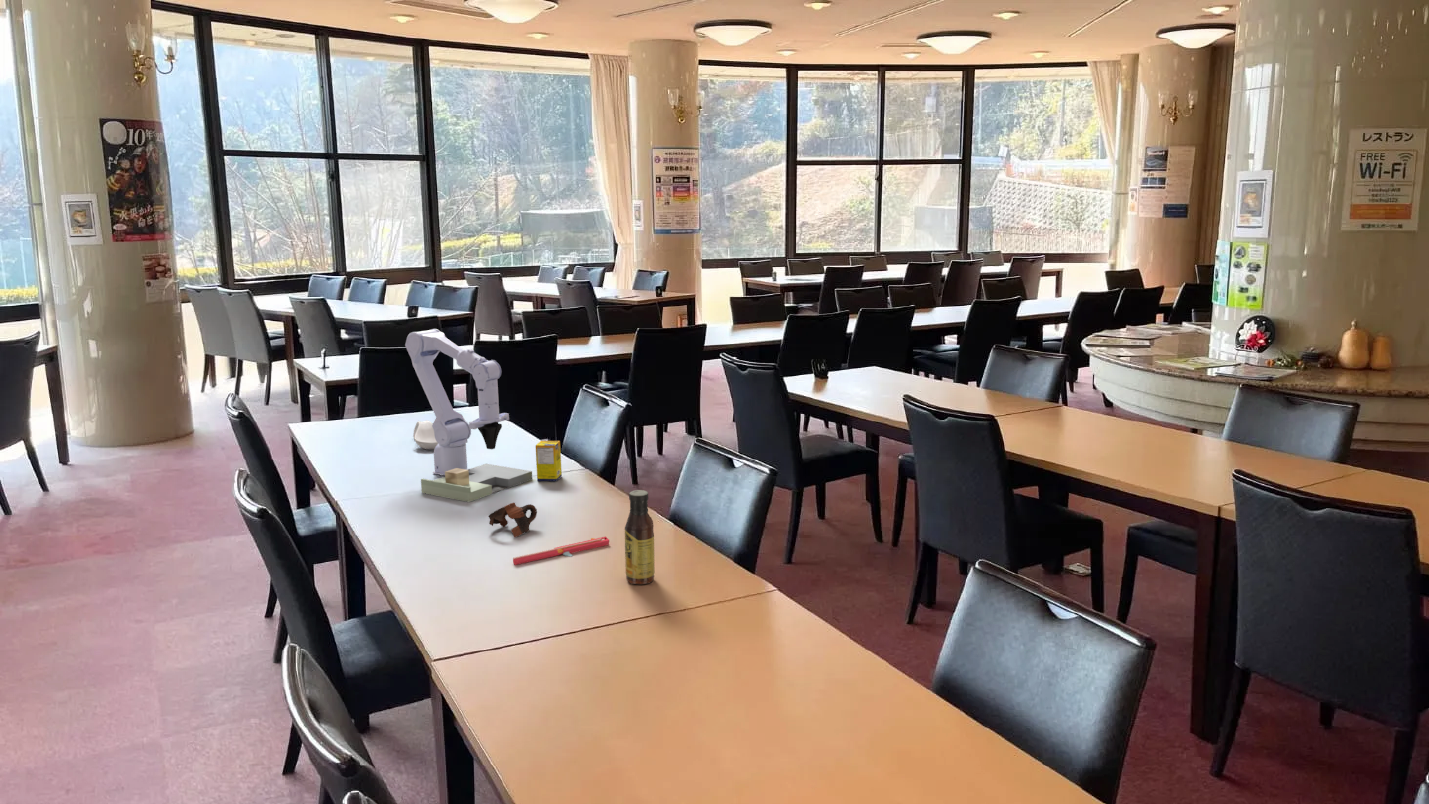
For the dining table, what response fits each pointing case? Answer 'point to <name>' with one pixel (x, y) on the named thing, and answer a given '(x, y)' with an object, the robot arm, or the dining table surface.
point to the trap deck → (478, 482)
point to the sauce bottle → (639, 540)
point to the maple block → (457, 476)
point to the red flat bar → (562, 550)
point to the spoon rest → (425, 435)
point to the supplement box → (548, 461)
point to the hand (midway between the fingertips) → (490, 448)
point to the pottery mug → (514, 517)
